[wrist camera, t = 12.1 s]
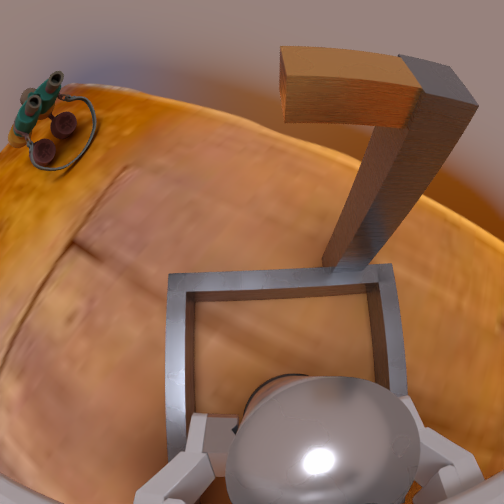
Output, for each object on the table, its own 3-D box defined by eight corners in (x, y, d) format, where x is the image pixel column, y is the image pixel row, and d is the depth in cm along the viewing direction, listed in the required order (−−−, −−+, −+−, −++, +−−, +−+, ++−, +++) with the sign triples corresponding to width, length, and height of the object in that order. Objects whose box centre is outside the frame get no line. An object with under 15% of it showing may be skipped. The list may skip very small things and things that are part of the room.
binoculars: (95, 130, 31) (42, 83, 25) (128, 104, 26) (63, 44, 19) (52, 191, 28) (-9, 143, 21) (73, 176, 22) (-5, 112, 15)
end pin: (334, 369, 14) (421, 358, 6) (336, 453, 12) (416, 525, 4) (242, 375, 14) (216, 377, 6) (245, 460, 12) (225, 553, 4)
